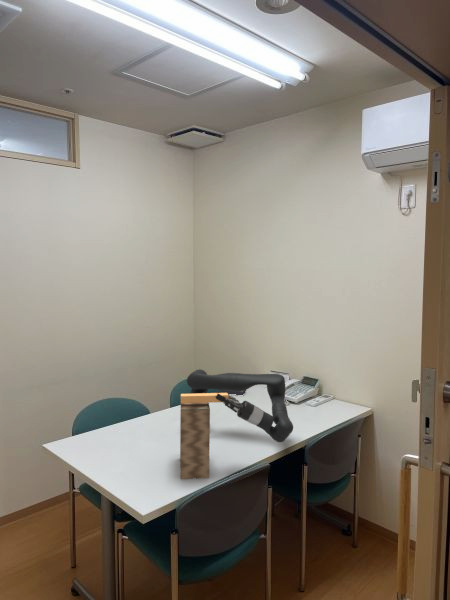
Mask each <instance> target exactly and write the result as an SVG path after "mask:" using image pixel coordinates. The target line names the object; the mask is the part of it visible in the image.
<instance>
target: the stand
mask: <svg viewBox="0 0 450 600" xmlns="http://www.w3.org/2000/svg"><path fill="white" fill-rule="evenodd" d="M210 407H211V406H210V404H209V403H181V402H180V423H179V424H180V426H179V427H180V430H179V431H180V436H179V438H180V439H179V441H180V442H179V444H180V445H179V448H180V449H179V450H180V451H179V463H180V464H179V468H180V470H179V475H180V480H190V479H191V480H192V479H193V478H196V479H210V444H211V443H210V439H211V438H210V437H211V436H210V435H211V434H210V433H211V432H210V431H211V426H210V425H211V424H210V420H211V408H210Z"/></svg>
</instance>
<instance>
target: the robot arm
mask: <svg viewBox="0 0 450 600" xmlns="http://www.w3.org/2000/svg"><path fill="white" fill-rule="evenodd" d="M186 383H187V385H188V387H189V388H191V391H190V393H189V394H196V393H208V392H209V390H217V391H216V392H215V393H221V392H220V391H222V390H226V391H238V392H241V391H245V390H246V391H247V390H249V389H251V388H253V387H255V386H257V385H258V386H259V385H260V386H261V385H265V386H266V389H267V394H268V397H269V398H270V402H271V414H272V415H271V414H270V413H268V412H266V411H264V410H263V409H261V408H259V407H258V406H256V405H254V404H253V403H251V402H249V401H248V400H243V401H242V402H240V400H238V399H237V398H236V397H234V396H233V395H229V394H228V398H225V397H223V396H222V395H220V394H217V396H216V399H218V400H219V401H221V402H220V403H222V404H223V405H224V406H225V407H227V408H228V409H230V410H231V411H233V412H234V413H236V416H237V417H238V418H240V419H241V420H244V421H245V422H247V423H249V424H252V425H254V426H256V427H258V428H260V429H261V430H263V431H264V432H266V433H267V435H269V436H270V437H271V438H272V439H273V440H274V441H275V442H277V443H283V442H284V441H286V440H287V438H288V437H289V436H290V435H291V434H292V433H293V430H294V423H293V422H292V421H291V418H290V417H289V414H288V408H287V405H286V403H285V398H286V397H285V395H286V378H285V377H284V375H282V374H280V373H257V374H256V373H255V374H254V373H236V372H228V373H227V372H226V373H220V374H207V371H205V370H204V369H200V368H199V369H196V370H193V371H192V372H191V373H190V374H188V376H187V378H186ZM219 390H220V391H219ZM273 423H274V424H275V426H273Z"/></svg>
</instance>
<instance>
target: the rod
mask: <svg viewBox="0 0 450 600" xmlns="http://www.w3.org/2000/svg"><path fill="white" fill-rule="evenodd" d="M217 394H220V395H222V396H223V397H225V398H228V395H229V394H228V393H222V392H220V393H216V392H210V393H196V394H190V393H180V404H181V403H211V404H212V403H222V402H221V401H219V400H218V399H216V396H217Z"/></svg>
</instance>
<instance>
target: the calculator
mask: <svg viewBox="0 0 450 600" xmlns="http://www.w3.org/2000/svg"><path fill="white" fill-rule="evenodd" d="M245 391H246V392H247V390H245ZM245 391H241V392H238V391H226V390H221V393H228V395H229V394H236V395H235V396H238V395H243V394H244V393H245V394H246V392H245ZM245 394H244V395H245ZM244 395H243V396H244Z"/></svg>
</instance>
